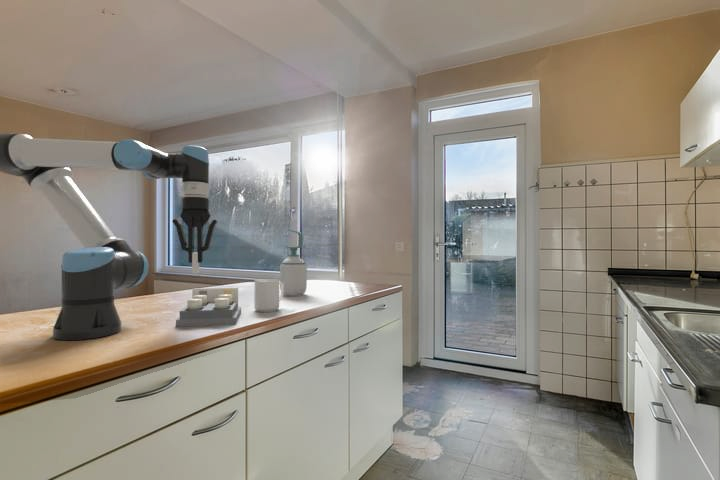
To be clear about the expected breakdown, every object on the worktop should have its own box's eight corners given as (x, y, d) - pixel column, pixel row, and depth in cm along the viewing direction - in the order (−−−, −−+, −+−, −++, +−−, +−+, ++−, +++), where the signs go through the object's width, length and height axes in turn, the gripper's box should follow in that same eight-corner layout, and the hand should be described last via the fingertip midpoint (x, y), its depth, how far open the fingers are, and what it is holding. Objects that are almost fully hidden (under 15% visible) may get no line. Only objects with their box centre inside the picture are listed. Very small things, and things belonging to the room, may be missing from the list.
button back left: (191, 306, 121) (191, 297, 121) (194, 304, 125) (194, 295, 125) (205, 305, 122) (205, 296, 122) (207, 303, 126) (207, 294, 126)
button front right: (213, 309, 115) (213, 300, 115) (215, 307, 119) (215, 298, 119) (228, 309, 116) (228, 299, 116) (229, 307, 120) (229, 297, 120)
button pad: (175, 326, 111) (176, 296, 111) (189, 314, 129) (189, 288, 129) (235, 324, 115) (235, 294, 115) (241, 312, 133) (241, 287, 133)
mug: (264, 313, 132) (264, 282, 132) (249, 310, 137) (249, 280, 137) (290, 308, 141) (290, 279, 141) (275, 306, 147) (275, 277, 147)
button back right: (217, 305, 123) (217, 296, 123) (219, 303, 127) (219, 294, 127) (231, 305, 124) (231, 296, 124) (232, 303, 128) (232, 294, 128)
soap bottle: (285, 292, 183) (285, 229, 183) (309, 293, 182) (310, 229, 182) (276, 296, 171) (276, 228, 171) (302, 297, 169) (302, 228, 169)
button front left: (185, 310, 113) (185, 300, 113) (188, 308, 117) (189, 298, 117) (200, 310, 114) (200, 300, 114) (203, 307, 118) (203, 298, 118)
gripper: (169, 195, 111) (169, 274, 111) (216, 196, 113) (216, 274, 113) (176, 198, 118) (176, 272, 118) (219, 199, 121) (219, 272, 121)
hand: (195, 273), depth 116 cm, fingers closed
